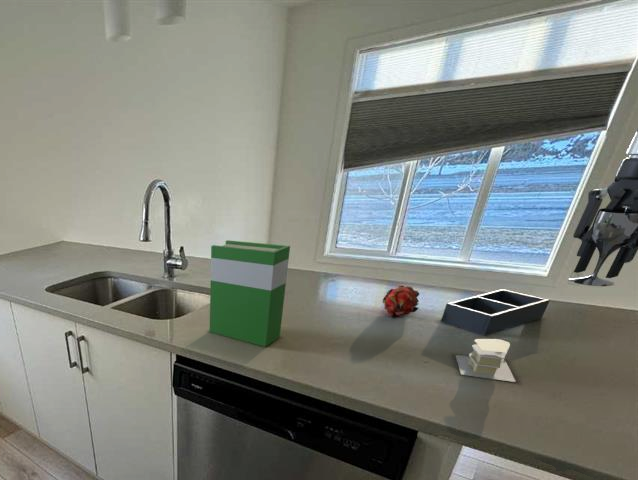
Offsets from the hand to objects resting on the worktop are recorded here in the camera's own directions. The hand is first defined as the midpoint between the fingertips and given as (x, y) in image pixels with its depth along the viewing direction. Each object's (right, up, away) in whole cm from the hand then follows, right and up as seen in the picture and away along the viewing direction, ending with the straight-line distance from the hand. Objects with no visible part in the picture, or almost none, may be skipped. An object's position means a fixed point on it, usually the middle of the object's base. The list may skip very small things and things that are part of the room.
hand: (595, 273), depth 90 cm
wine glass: (0, -2, +1) cm, 2 cm away
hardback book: (-73, -11, +22) cm, 77 cm away
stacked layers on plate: (-28, -21, -3) cm, 35 cm away
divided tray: (-8, -8, +17) cm, 21 cm away
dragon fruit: (-27, -5, +26) cm, 38 cm away
